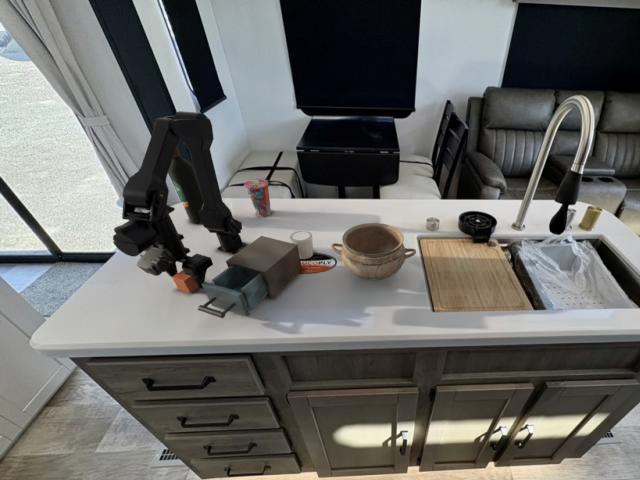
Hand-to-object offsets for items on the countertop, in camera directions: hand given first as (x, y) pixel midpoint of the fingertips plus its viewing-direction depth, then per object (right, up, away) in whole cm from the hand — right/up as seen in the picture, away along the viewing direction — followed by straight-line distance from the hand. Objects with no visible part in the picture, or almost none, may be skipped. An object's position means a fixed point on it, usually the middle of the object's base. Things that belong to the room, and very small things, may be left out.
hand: (189, 283), depth 91 cm
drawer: (+17, -5, -4) cm, 18 cm away
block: (0, -1, +1) cm, 1 cm away
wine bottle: (-15, +26, +30) cm, 42 cm away
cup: (+6, +29, +35) cm, 46 cm away
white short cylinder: (+28, +10, +15) cm, 34 cm away
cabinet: (+21, +2, +5) cm, 22 cm away
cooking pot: (+52, +4, +9) cm, 52 cm away
